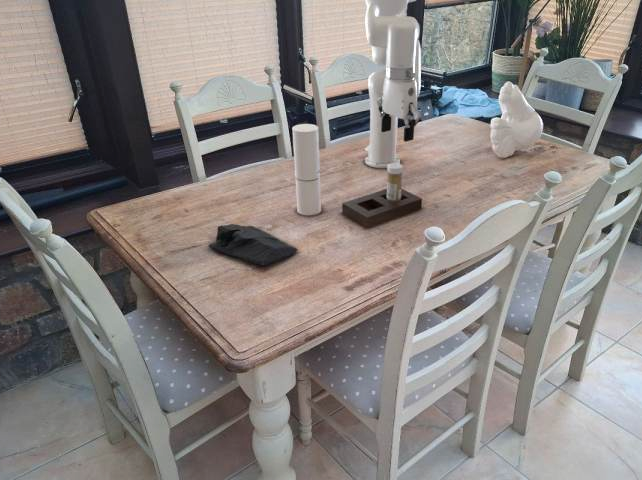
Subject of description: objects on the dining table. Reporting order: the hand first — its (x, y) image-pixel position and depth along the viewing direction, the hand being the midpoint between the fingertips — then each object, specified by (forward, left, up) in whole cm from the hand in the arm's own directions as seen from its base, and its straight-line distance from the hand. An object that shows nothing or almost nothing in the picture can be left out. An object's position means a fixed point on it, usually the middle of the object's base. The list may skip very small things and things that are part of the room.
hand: (397, 135), depth 154 cm
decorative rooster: (-9, +65, -22) cm, 69 cm away
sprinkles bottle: (+1, -1, -22) cm, 22 cm away
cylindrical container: (-12, -23, -22) cm, 34 cm away
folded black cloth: (-1, -48, -22) cm, 53 cm away
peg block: (+2, -6, -22) cm, 22 cm away
